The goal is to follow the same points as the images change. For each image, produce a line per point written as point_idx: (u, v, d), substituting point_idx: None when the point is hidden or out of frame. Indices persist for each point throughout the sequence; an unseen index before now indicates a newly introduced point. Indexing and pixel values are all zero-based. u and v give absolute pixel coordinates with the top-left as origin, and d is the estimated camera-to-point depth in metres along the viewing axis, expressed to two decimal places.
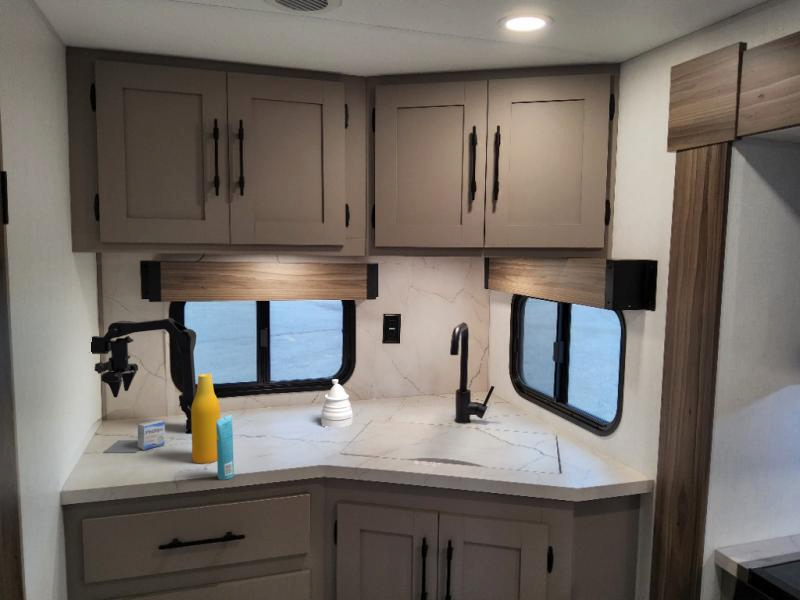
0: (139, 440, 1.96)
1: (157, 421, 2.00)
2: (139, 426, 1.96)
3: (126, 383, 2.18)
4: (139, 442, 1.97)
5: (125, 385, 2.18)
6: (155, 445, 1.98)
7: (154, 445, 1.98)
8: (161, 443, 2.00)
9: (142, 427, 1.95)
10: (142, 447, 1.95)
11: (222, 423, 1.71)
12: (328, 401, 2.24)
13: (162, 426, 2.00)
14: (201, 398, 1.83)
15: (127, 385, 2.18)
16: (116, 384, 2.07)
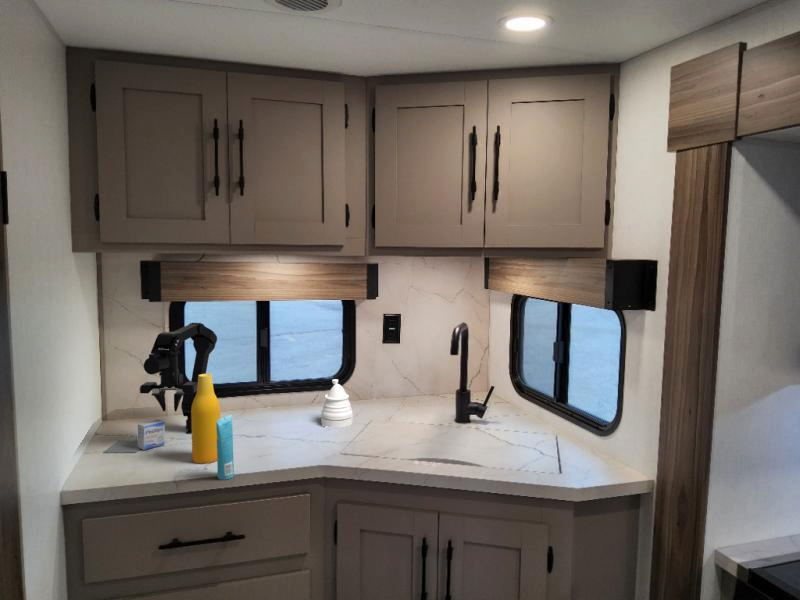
0: (139, 440, 1.96)
1: (157, 421, 2.00)
2: (139, 426, 1.96)
3: None
4: (139, 442, 1.97)
5: None
6: (155, 445, 1.98)
7: (154, 445, 1.98)
8: (161, 443, 2.00)
9: (142, 427, 1.95)
10: (142, 447, 1.95)
11: (222, 423, 1.71)
12: (328, 401, 2.24)
13: (162, 426, 2.00)
14: (201, 398, 1.83)
15: None
16: None
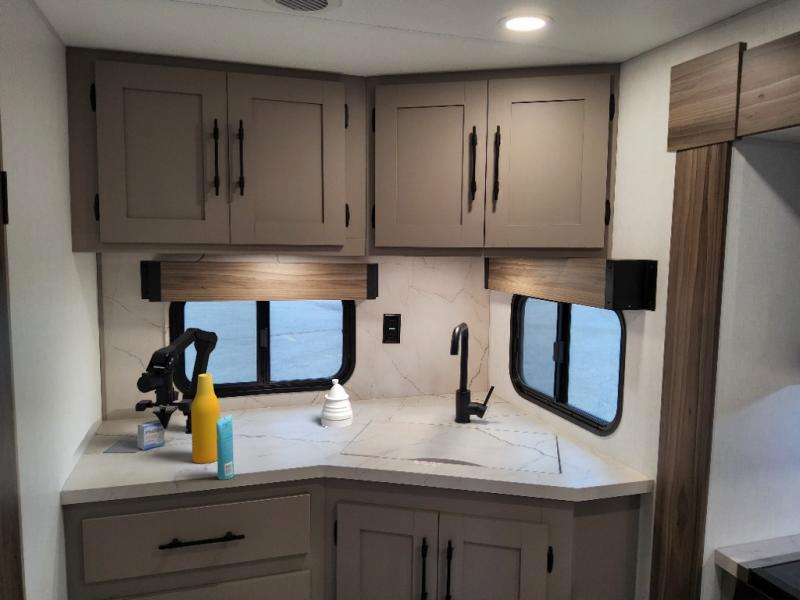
0: (139, 440, 1.96)
1: (157, 421, 2.00)
2: (139, 426, 1.96)
3: None
4: (139, 442, 1.97)
5: None
6: (155, 445, 1.98)
7: (154, 445, 1.98)
8: (161, 443, 2.00)
9: (142, 427, 1.95)
10: (142, 447, 1.95)
11: (222, 423, 1.71)
12: (328, 401, 2.24)
13: (162, 426, 2.00)
14: (201, 398, 1.83)
15: None
16: None
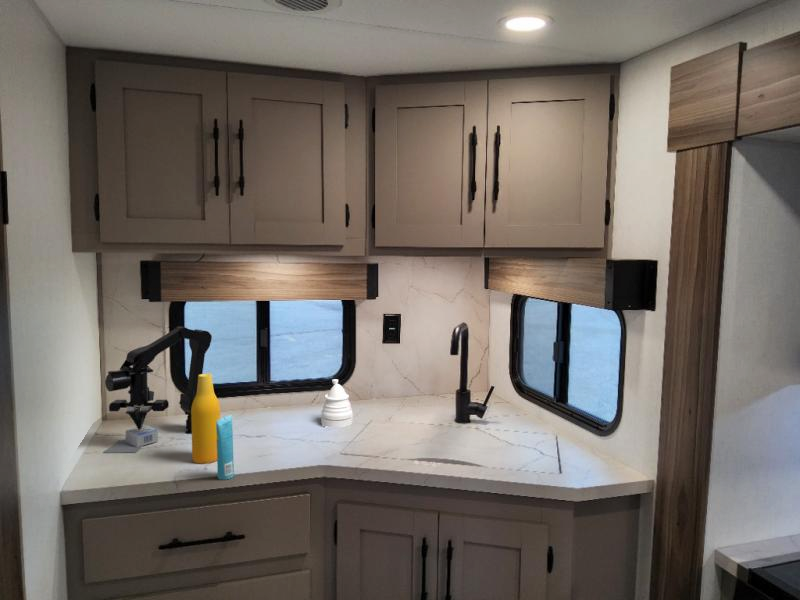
0: (133, 441, 1.99)
1: None
2: (126, 438, 2.02)
3: None
4: (134, 442, 1.99)
5: None
6: (147, 432, 2.01)
7: (146, 432, 2.01)
8: (153, 430, 2.03)
9: None
10: (135, 437, 1.98)
11: (222, 423, 1.71)
12: (328, 401, 2.24)
13: (145, 426, 2.07)
14: (201, 398, 1.83)
15: None
16: None
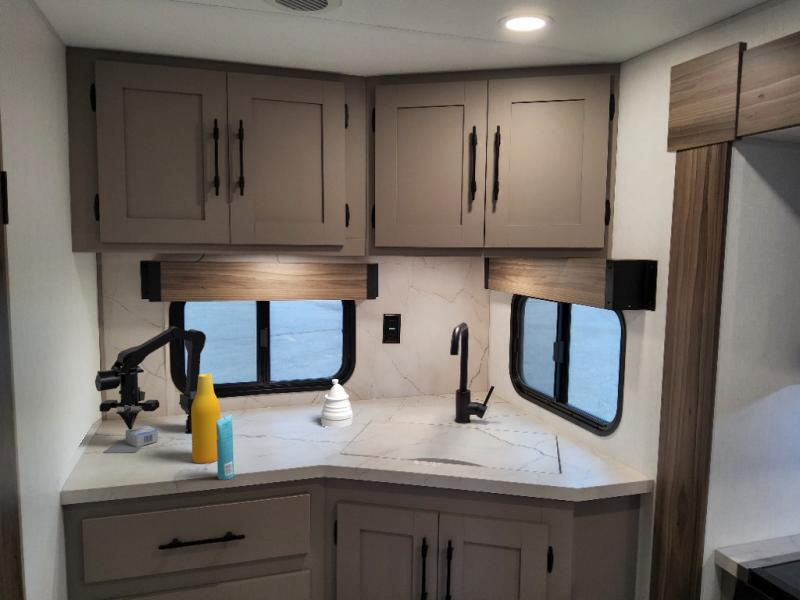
0: (133, 441, 1.99)
1: None
2: (126, 438, 2.02)
3: None
4: (134, 442, 1.99)
5: None
6: (147, 432, 2.01)
7: (146, 432, 2.01)
8: (153, 430, 2.03)
9: None
10: (135, 437, 1.98)
11: (222, 423, 1.71)
12: (328, 401, 2.24)
13: (145, 426, 2.07)
14: (201, 398, 1.83)
15: None
16: None
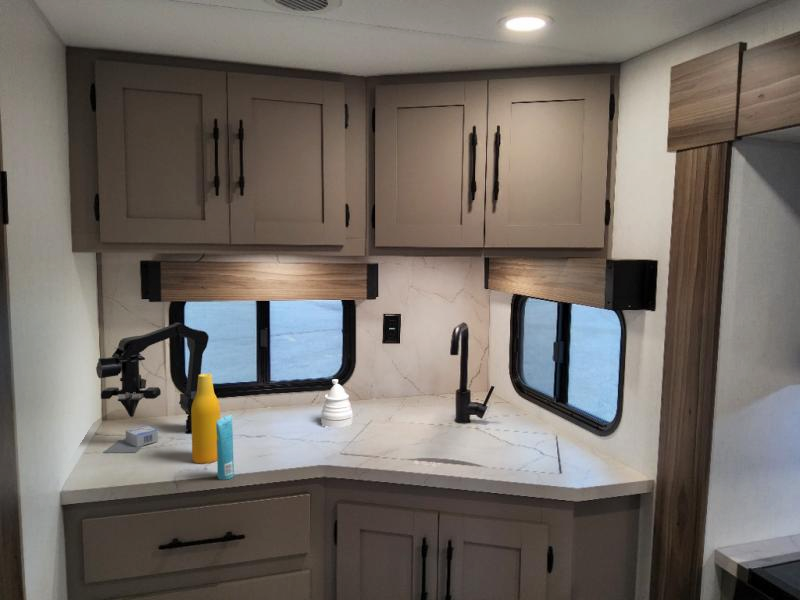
0: (133, 441, 1.99)
1: None
2: (126, 438, 2.02)
3: None
4: (134, 442, 1.99)
5: None
6: (147, 432, 2.01)
7: (146, 432, 2.01)
8: (153, 430, 2.03)
9: None
10: (135, 437, 1.98)
11: (222, 423, 1.71)
12: (328, 401, 2.24)
13: (145, 426, 2.07)
14: (201, 398, 1.83)
15: None
16: None
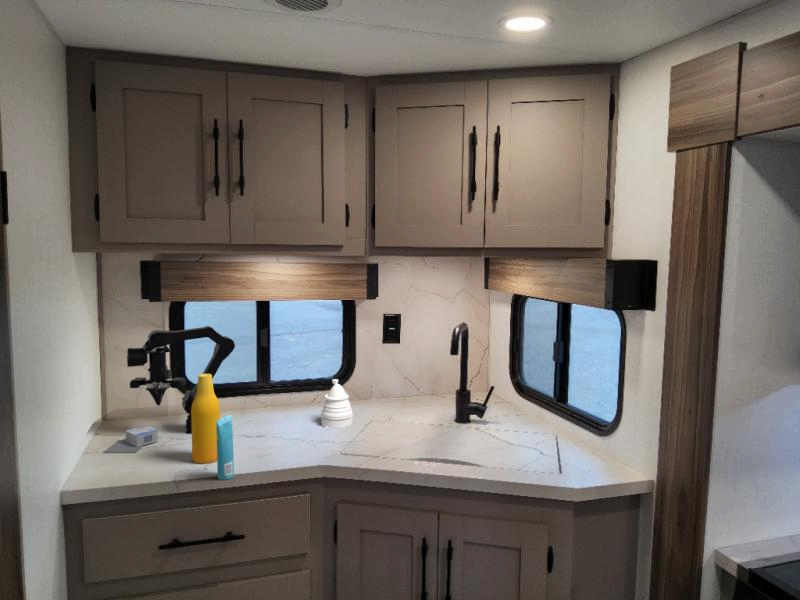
0: (133, 441, 1.99)
1: None
2: (126, 438, 2.02)
3: None
4: (134, 442, 1.99)
5: None
6: (147, 432, 2.01)
7: (146, 432, 2.01)
8: (153, 430, 2.03)
9: None
10: (135, 437, 1.98)
11: (222, 423, 1.71)
12: (328, 401, 2.24)
13: (145, 426, 2.07)
14: (201, 398, 1.83)
15: None
16: None
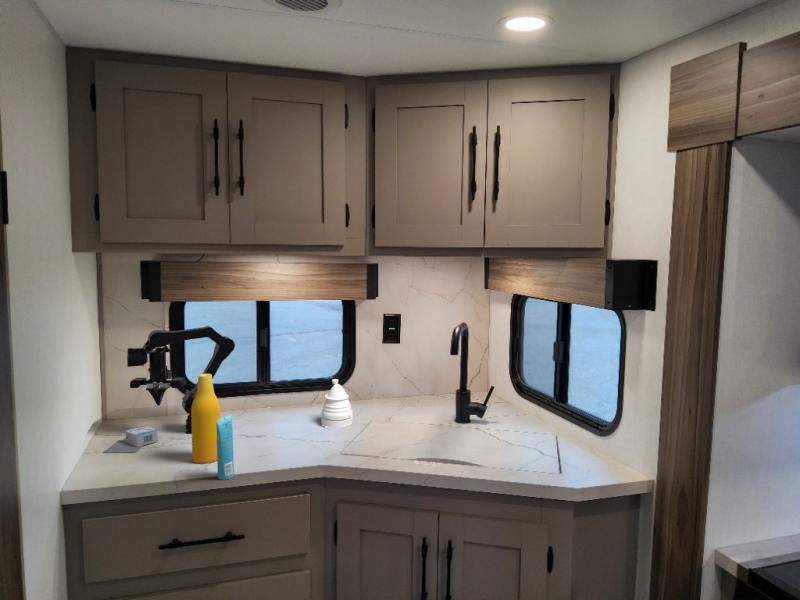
0: (133, 441, 1.99)
1: None
2: (126, 438, 2.02)
3: None
4: (134, 442, 1.99)
5: None
6: (147, 432, 2.01)
7: (146, 432, 2.01)
8: (153, 430, 2.03)
9: None
10: (135, 437, 1.98)
11: (222, 423, 1.71)
12: (328, 401, 2.24)
13: (145, 426, 2.07)
14: (201, 398, 1.83)
15: None
16: None
